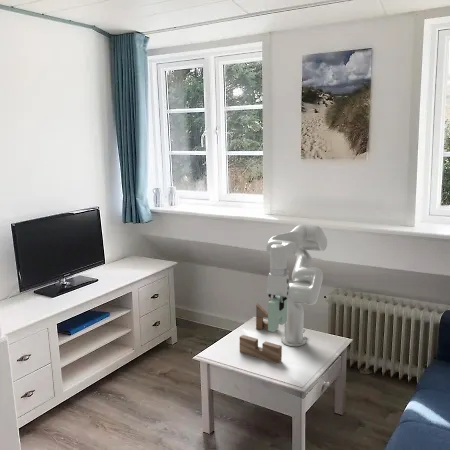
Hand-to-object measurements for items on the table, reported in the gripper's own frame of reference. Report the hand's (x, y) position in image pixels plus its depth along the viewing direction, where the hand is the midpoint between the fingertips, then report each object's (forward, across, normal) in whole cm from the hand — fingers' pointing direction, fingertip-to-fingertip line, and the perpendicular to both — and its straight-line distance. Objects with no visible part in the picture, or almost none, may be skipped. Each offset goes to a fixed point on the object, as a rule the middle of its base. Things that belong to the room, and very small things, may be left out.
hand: (277, 308), depth 222 cm
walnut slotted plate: (+27, +9, 0) cm, 29 cm away
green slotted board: (+9, 0, 0) cm, 9 cm away
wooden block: (+28, +22, -31) cm, 47 cm away
